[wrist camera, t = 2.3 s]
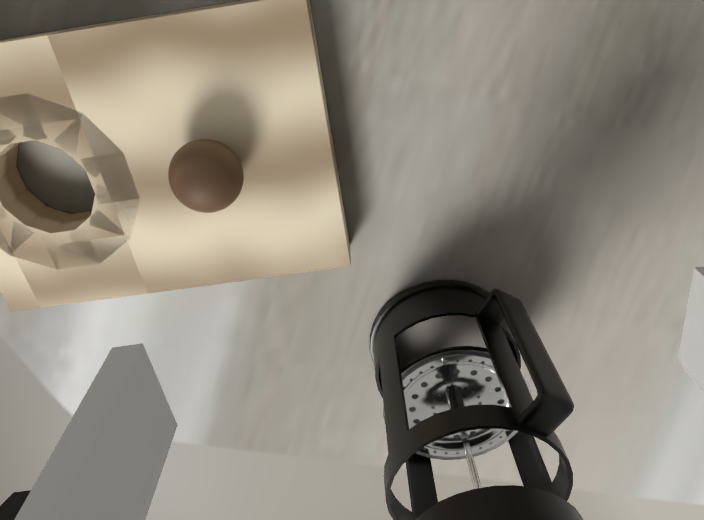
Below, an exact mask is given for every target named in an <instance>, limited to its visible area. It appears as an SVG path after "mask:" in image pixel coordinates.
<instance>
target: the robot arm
mask: <svg viewBox="0 0 704 520" xmlns="http://www.w3.org/2000/svg"><path fill="white" fill-rule="evenodd" d="M678 362H679V363H680V364H681V365H682V366H683V368H684V369H685V370H686V371H687V372H688V374H689V375H690V376H691V377H692V379H693V380H694V381H695V382H696V383H697V385H698V386H699V387H700V388H701V389H702V391H703V392H704V267H696V268H694V272H693V278H692V283H691V289H690V294H689V300H688V306H687V311H686V317H685V322H684V328H683V334H682V339H681V345H680V350H679V356H678ZM176 427H177V423H176V421H175V418H174V416H173V414H172V411H171V409H170V407H169V404H168V402H167V400H166V397H165V395H164V392H163V390H162V388H161V385H160V383H159V381H158V378H157V376H156V374H155V371H154V369H153V367H152V364H151V362H150V360H149V357H148V355H147V353H146V350H145V348H144V346H143V344H136V345H129V346H122V347H115V348H112V349H111V351H110V353H109V354H108V356H107V358H106V360H105V361H104V363H103V365H102V367H101V368H100V370H99V372H98V374H97V375H96V377H95V379H94V381H93V382H92V384H91V386H90V388H89V389H88V391H87V393H86V395H85V396H84V398H83V400H82V402H81V404H80V405H79V407H78V409H77V411H76V412H75V414H74V416H73V418H72V419H71V421H70V423H69V425H68V427H67V428H66V430H65V432H64V433H63V435H62V437H61V439H60V441H59V442H58V444H57V446H56V447H55V449H54V451H53V453H52V454H51V456H50V458H49V460H48V462H47V463H46V465H45V467H44V469H43V470H42V472H41V474H40V476H39V477H38V479H37V481H36V483H35V485H34V486H33V488H32V490H30V491H22V492H14V493H13V494H12V495H11V496H10V497H9V498H8V499H7V500H6V501H5V502H4V503H3V504H2V505H1V506H0V520H145V519H146V516H147V512H148V510H149V507H150V504H151V501H152V498H153V495H154V492H155V489H156V486H157V483H158V480H159V477H160V474H161V472H162V469H163V465H164V462H165V460H166V457H167V454H168V451H169V448H170V445H171V442H172V439H173V436H174V433H175V430H176Z"/></svg>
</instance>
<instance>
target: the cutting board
mask: <svg viewBox="0 0 704 520" xmlns="http://www.w3.org/2000/svg"><path fill="white" fill-rule="evenodd" d="M198 139H211V140H215V141H218V142H221V143H223V144H225V145H226V146H228V147H229V148H230V149H231V150H232V151H233V152H234V153H235V154H236V155H237V157H238V158H239V160H240V162H241V165H242V168H243V173H244V181H243V186H242V190H241V192H240V194H239V196H238V197H237V199H236V200H235V201H234V202H233V203H232V204H231V205H230V206H228V207H227V208H225V209H223V210H220V211H217V212H213V213H203V212H198V211H194V210H192V209H190V208H188V207H186V206H185V205H183V204H182V203H181V202H180V201H179V200H178V199H177V198H176V196H175V195H174V193H173V192H172V190H171V187H170V184H169V179H168V170H169V165H170V162H171V160H172V158H173V156H174V154H175V153H176V152H177V151H178V150H179V149H180V148H181V147H182V146H183V145H185V144H187V143H188V142H191V141H194V140H198ZM32 140H37V141H40V142H43V143H46V144H49V145H52V146H54V147H57V148H60V149H63V150H65V151H66V152H67V153H68V154H69V155H70V156H71V157H72V158H73V159H74V160H75V161H77V162H78V163H79V164H80V165H81V166H82V167H83V168H84V169H85V170H86V172H87V175H88V177H89V180H90V182H91V185H92V187H93V190H94V192H95V197H94V203H93V208H92V211H88V212H81V213H74V214H69V213H66V212H63V211H60V210H57V209H54V208H51V207H48V206H46V205H45V204H43V203H42V202H41V201H40V200H39V199H38V198H36V197H35V196H34V195H33V194H32V193H31V192H29V191H28V190H27V189H26V187H25V184H24V182H23V180H22V178H21V176H20V174H19V172H18V169H17V167H16V164H17V155H18V146H19V144H20V143H21V142H26V141H32ZM348 266H351V261H350V243H349V236H348V230H347V224H346V218H345V212H344V206H343V200H342V194H341V188H340V182H339V176H338V170H337V164H336V158H335V151H334V145H333V139H332V133H331V127H330V121H329V115H328V109H327V103H326V97H325V91H324V85H323V79H322V73H321V67H320V60H319V54H318V48H317V42H316V36H315V30H314V24H313V18H312V12H311V6H310V0H243V1H237V2H231V3H224V4H218V5H212V6H206V7H200V8H194V9H187V10H181V11H175V12H169V13H163V14H156V15H150V16H144V17H138V18H132V19H126V20H119V21H113V22H107V23H101V24H95V25H88V26H82V27H76V28H70V29H64V30H57V31H51V32H45V33H39V34H33V35H27V36H20V37H14V38H8V39H2V40H0V292H1V294H2V296H3V298H4V300H5V301H6V303H7V305H8V307H9V309H10V311H11V312H13V311H20V310H28V309H35V308H43V307H50V306H58V305H65V304H72V303H80V302H87V301H95V300H102V299H110V298H117V297H125V296H132V295H140V294H147V293H155V292H162V291H169V290H177V289H184V288H192V287H199V286H207V285H214V284H222V283H229V282H237V281H244V280H251V279H259V278H266V277H274V276H281V275H289V274H296V273H304V272H311V271H319V270H326V269H334V268H341V267H348Z"/></svg>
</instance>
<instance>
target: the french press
mask: <svg viewBox="0 0 704 520" xmlns="http://www.w3.org/2000/svg"><path fill="white" fill-rule="evenodd" d="M447 315H463V316H469V317H475V318H476V320H477V323H478V326H479V328H480V331H481V334H482V337H483V339H484V342H485V345H486V347H487V349H486V348H481V347H473V346H459V347H450V348H444V349H439V350H436V351H433V352H430V353H427V354H425V355H423V356H421V357H419V358H417V359H415V360H413V361H412V362H410V363H409V364H407V365H406V366H405V367H403V368H402V369H401V368H400V361H399V355H398V348H397V341H396V337H397V336H399V335H400V334H401V333H402V332H404V331H405V330H406V329H408V328H410V327H412V326H414V325H415V324H417V323H419V322H422V321H425V320H428V319H431V318H435V317H441V316H447ZM517 346H518V347H517ZM518 349H519V350H518ZM519 351H520V353H521V355H522V357H523V360H524V362H525V364H526V366H527V369H528V371H529V373H530V375H531V378H532V380H533V382H534V384H535V387H536V389H537V393H538V395H537V397H536V399H535V400H534V401H533V399H532V397H531V389H530V386H529V383H528V381H527V379H526V378H525V376H524V375H523V373H522V372H521V371H520V368H521V360H520V353H519ZM370 352H371V357H372V360H373V362H374V365H375V377H376V382H377V387H378V390H379V392H380V394H381V396H382V398H383V402H384V411H383V415H384V420H385V424H386V433H387V443H388V453H389V454H388V457H387V460H386V463H385V466H384V483H385V496H386V503H387V507H388V511H389V513H390V515H391V516H392V518H393V520H583V518H582V517H581V515H580V514H579V513H578V511H577V510H576V508H575V507H573V506H572V505H571V504H570V503H568V502H567V500H568V498H569V496H570V493H571V489H572V486H573V472H572V469H571V466H570V463H569V460H568V458H567V456H566V453H565V451H564V449H563V447H562V445H561V442H560V440H559V438H558V437H557V435H556V434H555V433H554V430H555V429H556V428H557V427H558V426H559V425H560V424H561V423H562V422H563V421H564V420H565V419H566V418H567V417H568V416H569V415H570V414H571V413H572V411H573V408H574V404H573V402H572V399H571V397H570V396H569V394H568V392H567V390H566V388H565V386H564V384H563V382H562V380H561V378H560V376H559V374H558V372H557V370H556V368H555V366H554V364H553V362H552V361H551V359H550V357H549V355H548V353H547V351H546V349H545V347H544V345H543V343H542V341H541V339H540V337H539V335H538V333H537V331H536V329H535V328H534V326H533V324H532V322H531V320H530V318H529V316H528V314H527V312H526V310H525V308H524V306H523V304H522V302H521V301H520V300H519V299H517V298H515V297H513V296H511V295H509V294H507V293H505V292H503V291H501V290H499V289H493V290H492V291H491V293H488V292H487V291H485V290H483V289H482V288H480V287H478V286H475V285H472V284H470V283H467V282H461V281H455V280H437V281H431V282H426V283H422V284H419V285H416V286H413V287H411V288H409V289H407V290H405V291H403V292H401V293H400V294H398V295H396V296H395V297H394V298H393V299H392V300H390V301H389V302H388V303H387V304H386V305H385V306H384V307H383V309H382V310H381V311H380V312H379V314H378V316H377V318H376V319H375V321H374V323H373V326H372V329H371V333H370ZM534 436H535V437H537V438H538V439H540V440H542V441H544V442H546V443H548V444H549V445H550V446H551V447H552V448H554V449H555V450H556V451H557V452H558V453H559V467H558V471H557V475H556V477H555V478H554V480H553V482H551V479H550V477H549V474H548V472H547V469H546V467H545V464H544V462H543V459H542V457H541V454H540V452H539V449H538V447H537V444H536V442H535V439H534ZM507 441H509V444H510V447H511V450H512V453H513V456H514V459H515V462H516V465H517V468H518V471H519V474H520V476H521V479H522V482H523V485H524V487H523V486H491V487H484V488H481V485H480V480H479V477H478V473H477V469H476V465H475V461H474V458H473V457H474V456H478V455H481V454H484V453H487V452H489V451H491V450H493V449H496V448H497V447H499V446H501V445H502V444H504V443H505V442H507ZM430 458H435V459H443V460H454V459H464V458H466V459H467V463H468V467H469V471H470V475H471V479H472V483H473V487H474V489H473V490H470V491H466V492H463V493H459V494H456V495H454V496H451V497H449V498H447V499H444V500H442V501H440V502H438V500H437V494H436V489H435V483H434V478H433V472H432V466H431V460H430ZM405 462H406V468H407V476H408V483H409V491H410V498H411V507H412V512H411V511H409V510H408V509H406V508H405V507H404V506H403V505H402V504H401V503H400V502H399V501H398V500H397V499H396V498H395V496H394V494H393V492H392V491H391V489H390V488H391V485H392V482H393V479H394V476H395V475H396V473H397V472H398V470H399V469H400V467H401V466H402V465H403V464H404V463H405Z"/></svg>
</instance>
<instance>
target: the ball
mask: <svg viewBox="0 0 704 520" xmlns="http://www.w3.org/2000/svg"><path fill="white" fill-rule="evenodd" d="M168 179H169V184H170V187H171V190H172V192H173V193H174V195H175V196H176V198H177V199H178V200H179V201H180V202H181V203H182V204H183V205H185V206H186V207H188V208H190V209H192V210H194V211H198V212H203V213H213V212H217V211H220V210H223V209H225V208H227V207H228V206H230V205H231V204H232V203H233V202H234V201H235V200H236V199H237V197H238V196H239V194H240V192H241V190H242V186H243V181H244V173H243V168H242V165H241V162H240V160H239V158H238V157H237V155H236V154H235V153H234V152H233V151H232V150H231V149H230V148H229V147H228V146H226V145H225V144H223V143H221V142H218V141H215V140H211V139H198V140H194V141H191V142H188V143H187V144H185V145H183V146H182V147H181V148H180V149H179V150H178V151H177V152H176V153H175V154H174V156H173V158H172V160H171V162H170V165H169V170H168Z"/></svg>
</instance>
